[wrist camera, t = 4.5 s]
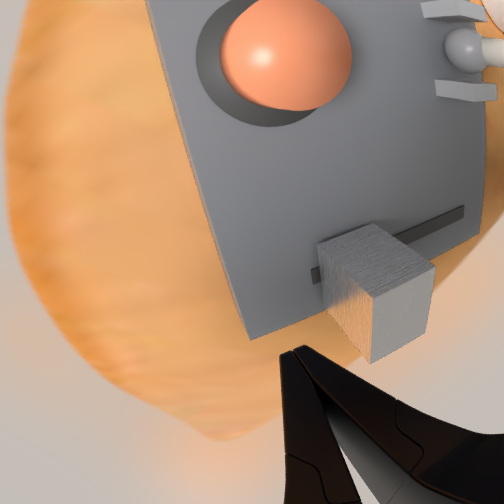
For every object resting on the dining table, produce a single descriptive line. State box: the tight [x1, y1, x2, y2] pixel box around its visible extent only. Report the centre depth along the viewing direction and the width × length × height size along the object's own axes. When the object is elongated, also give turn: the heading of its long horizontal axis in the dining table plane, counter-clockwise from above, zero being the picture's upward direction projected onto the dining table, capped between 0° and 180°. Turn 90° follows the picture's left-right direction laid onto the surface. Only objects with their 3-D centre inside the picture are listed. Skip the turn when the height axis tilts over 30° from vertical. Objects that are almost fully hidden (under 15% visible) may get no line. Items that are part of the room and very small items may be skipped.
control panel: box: [145, 0, 497, 340], centre depth 10 cm, size 14×14×4 cm
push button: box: [219, 0, 352, 111], centre depth 7 cm, size 3×3×2 cm
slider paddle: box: [317, 223, 436, 364], centre depth 11 cm, size 2×3×4 cm
